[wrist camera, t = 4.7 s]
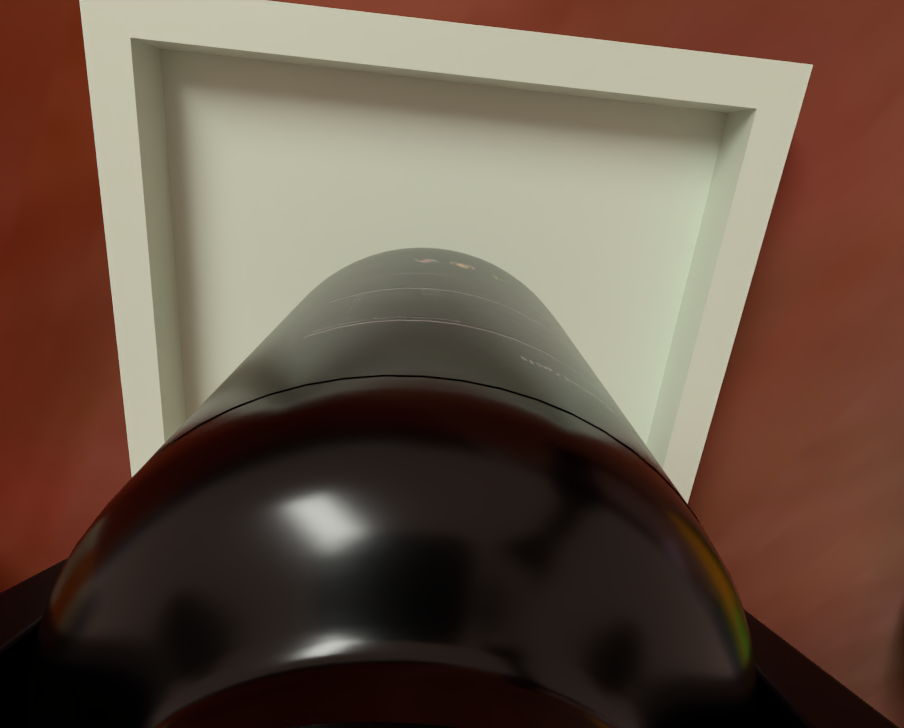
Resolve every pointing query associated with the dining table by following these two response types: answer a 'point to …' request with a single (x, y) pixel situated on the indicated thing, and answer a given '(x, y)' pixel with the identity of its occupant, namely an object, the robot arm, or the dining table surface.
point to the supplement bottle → (399, 538)
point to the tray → (427, 188)
